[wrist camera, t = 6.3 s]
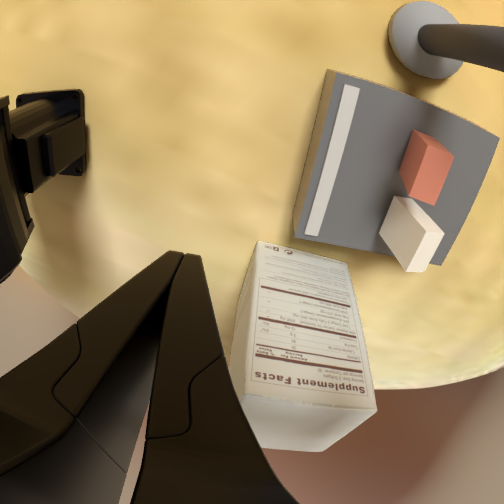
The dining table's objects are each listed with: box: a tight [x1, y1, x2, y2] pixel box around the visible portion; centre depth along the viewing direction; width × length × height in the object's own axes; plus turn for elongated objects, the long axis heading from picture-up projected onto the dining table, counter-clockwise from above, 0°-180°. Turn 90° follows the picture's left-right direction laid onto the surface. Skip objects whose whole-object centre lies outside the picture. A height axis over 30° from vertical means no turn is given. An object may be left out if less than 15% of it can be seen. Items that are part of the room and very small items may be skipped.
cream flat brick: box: [379, 196, 445, 272], centre depth 16 cm, size 1×3×4 cm, turn 171°
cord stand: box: [388, 1, 504, 79], centre depth 9 cm, size 5×5×12 cm
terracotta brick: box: [399, 129, 454, 206], centre depth 13 cm, size 1×3×4 cm, turn 170°
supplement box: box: [229, 241, 377, 452], centre depth 20 cm, size 7×7×13 cm
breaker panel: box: [293, 69, 500, 266], centre depth 17 cm, size 11×10×3 cm
